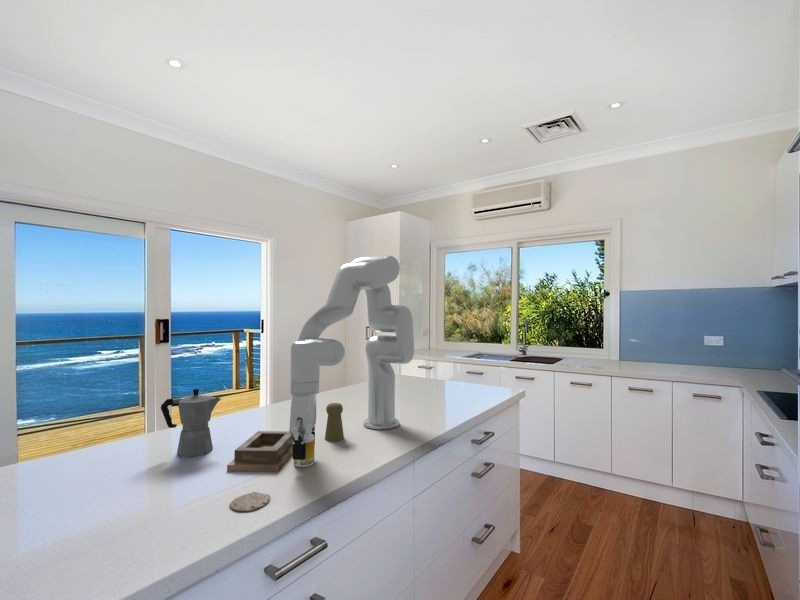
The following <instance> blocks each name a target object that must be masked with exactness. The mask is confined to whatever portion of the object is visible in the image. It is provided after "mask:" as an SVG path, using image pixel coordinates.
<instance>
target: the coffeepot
mask: <svg viewBox="0 0 800 600" xmlns="http://www.w3.org/2000/svg"><path fill="white" fill-rule="evenodd" d="M199 391H200V389H199V388H194V389H192V392H193V394H192V395H190V396H189V395H188V396H186V397H183V398H179V397H178V398H167V399H166V400H164V402H163V403H162V404H160V410H161V412H162V415H163V417H164V420H165V423H166V426H167V427H168V428H170V429H172V428H173V429H174V428H177V426H178V424H177V423H173V422H172V417H171V415H170V409H169V408H168V407H169V406H176V407H178V413H179V418H180V424H181V425H182V429H181V431H180V436H179V439H178V445H177V451H176V452H177V454H179V455H180V456H179V455H178V456H179V457H182V456H184V457H183V458H192V457H191V456H194V457H199V456H198V455H200V456H203V455H206V454H208V453H210V452H211V451H212V450H213V449H214V446H213V442H212V436H211V430H210V427H209V422H210V421H211V417H212V412H213V411H214V409H215V407H216V406H217V404H218V403H219V402H220V401H221V400H222V399H221V397H218V396H210V395H204V394H199ZM209 451H210V452H209ZM205 453H206V454H205ZM202 454H203V455H202ZM185 456H186V457H185Z"/></svg>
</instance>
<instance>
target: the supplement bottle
mask: <svg viewBox="0 0 800 600" xmlns="http://www.w3.org/2000/svg"><path fill="white" fill-rule="evenodd" d="M300 431H304V430H300ZM311 432H312V429H311V431H310V432H309V433H307V434H306V437H305V443H306V458H305V459H304V460H294V459H293V465H294V466H295V467H297V468H307V467H311V466H313V465H314V464H315V445H316V437H315V438H314V435H313V434H311ZM302 436H303V435H301V438H302Z"/></svg>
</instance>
